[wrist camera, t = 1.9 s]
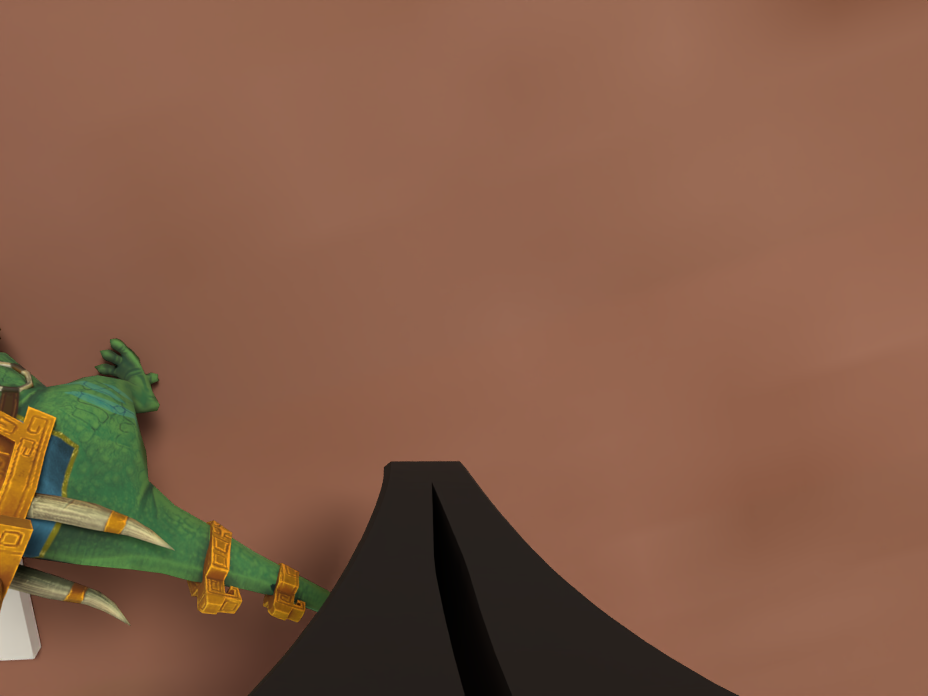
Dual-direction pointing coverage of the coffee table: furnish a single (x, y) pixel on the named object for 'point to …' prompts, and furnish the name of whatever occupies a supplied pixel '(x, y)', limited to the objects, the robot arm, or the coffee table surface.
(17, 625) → the cream mat
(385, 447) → the coffee table surface
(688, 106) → the coffee table surface
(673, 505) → the coffee table surface
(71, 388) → the figurine
